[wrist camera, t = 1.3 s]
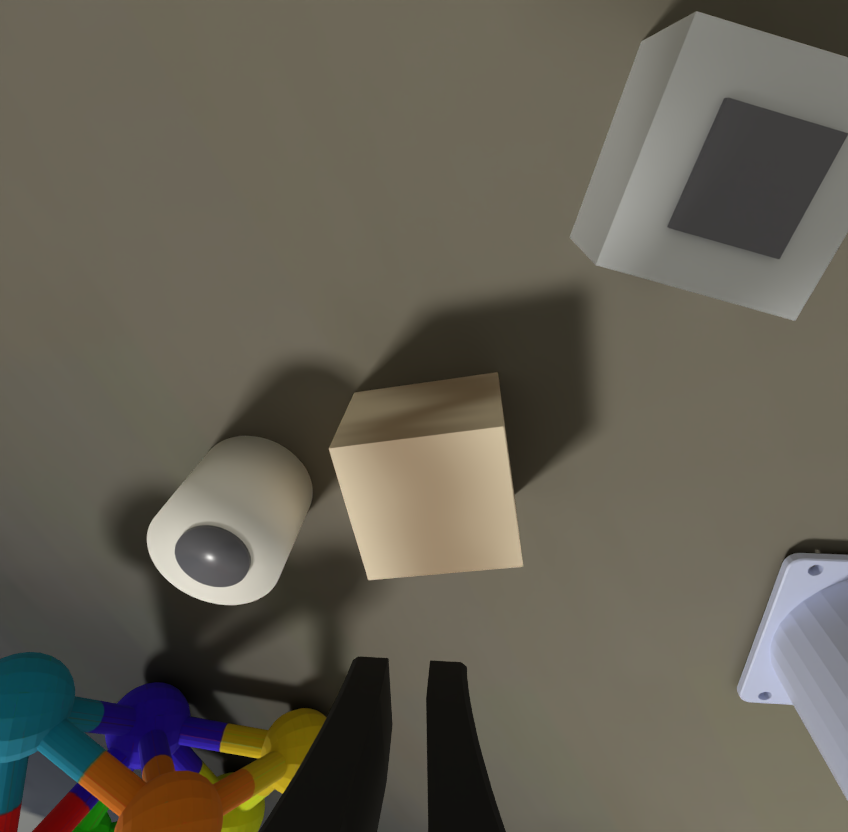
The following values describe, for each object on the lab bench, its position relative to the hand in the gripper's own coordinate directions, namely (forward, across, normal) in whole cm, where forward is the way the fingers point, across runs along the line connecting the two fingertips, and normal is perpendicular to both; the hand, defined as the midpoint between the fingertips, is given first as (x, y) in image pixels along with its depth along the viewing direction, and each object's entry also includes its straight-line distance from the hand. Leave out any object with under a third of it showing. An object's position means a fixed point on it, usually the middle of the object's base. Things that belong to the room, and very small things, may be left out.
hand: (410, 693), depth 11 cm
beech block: (+10, 0, 0) cm, 10 cm away
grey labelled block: (+10, -7, -9) cm, 15 cm away
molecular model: (+10, +13, +16) cm, 23 cm away
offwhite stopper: (+10, +7, +2) cm, 12 cm away
